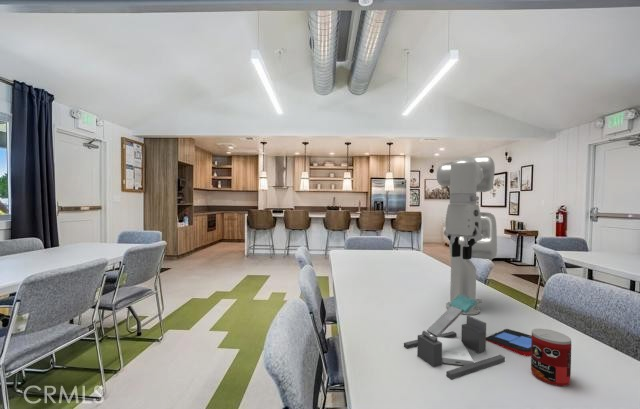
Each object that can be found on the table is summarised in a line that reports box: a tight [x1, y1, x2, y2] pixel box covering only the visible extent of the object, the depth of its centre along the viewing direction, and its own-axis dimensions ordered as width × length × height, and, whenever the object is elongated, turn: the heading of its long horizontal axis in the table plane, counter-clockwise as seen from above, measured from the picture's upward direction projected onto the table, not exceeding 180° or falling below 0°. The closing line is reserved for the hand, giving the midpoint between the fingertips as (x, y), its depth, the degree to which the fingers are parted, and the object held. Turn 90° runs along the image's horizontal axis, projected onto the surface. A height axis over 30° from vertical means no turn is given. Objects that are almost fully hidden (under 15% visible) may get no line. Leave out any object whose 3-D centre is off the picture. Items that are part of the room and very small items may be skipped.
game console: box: [486, 328, 532, 357], centre depth 91 cm, size 14×13×2 cm
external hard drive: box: [436, 337, 475, 366], centre depth 83 cm, size 2×8×12 cm
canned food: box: [530, 328, 572, 387], centre depth 73 cm, size 8×8×11 cm
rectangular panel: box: [421, 295, 477, 342], centre depth 83 cm, size 18×6×1 cm, turn 115°
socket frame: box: [403, 315, 506, 380], centre depth 83 cm, size 21×18×9 cm
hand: (461, 257), depth 90 cm, fingers open, 3 cm apart
